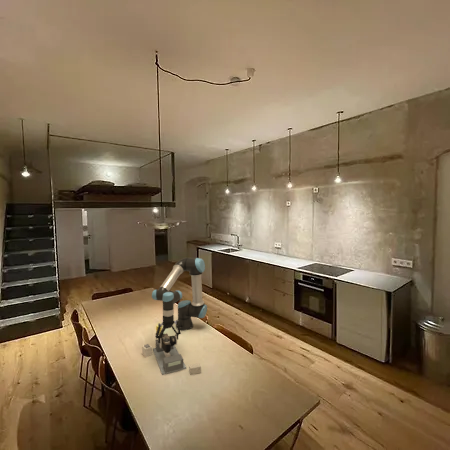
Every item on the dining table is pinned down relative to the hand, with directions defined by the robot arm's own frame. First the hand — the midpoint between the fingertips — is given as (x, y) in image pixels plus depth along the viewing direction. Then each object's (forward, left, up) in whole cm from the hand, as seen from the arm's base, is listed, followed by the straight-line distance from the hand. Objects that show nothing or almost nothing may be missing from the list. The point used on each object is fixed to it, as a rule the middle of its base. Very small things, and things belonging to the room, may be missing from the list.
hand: (168, 345), depth 187 cm
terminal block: (-12, +23, -10) cm, 28 cm away
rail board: (0, 0, -10) cm, 10 cm away
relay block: (+13, -12, -10) cm, 20 cm away
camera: (0, 0, -1) cm, 1 cm away
